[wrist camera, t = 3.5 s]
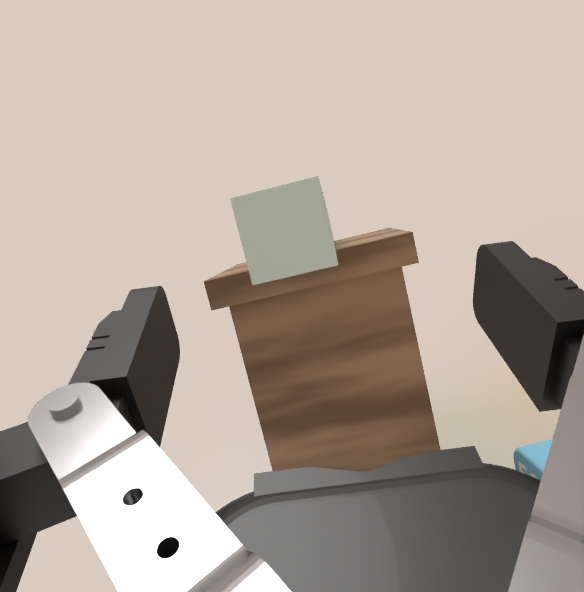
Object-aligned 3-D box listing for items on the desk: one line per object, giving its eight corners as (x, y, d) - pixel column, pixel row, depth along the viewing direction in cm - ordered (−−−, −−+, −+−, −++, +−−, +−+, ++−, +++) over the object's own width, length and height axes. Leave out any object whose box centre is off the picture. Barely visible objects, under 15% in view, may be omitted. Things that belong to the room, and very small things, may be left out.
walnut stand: (501, 663, 36) (412, 232, 31) (314, 689, 37) (203, 281, 33) (458, 552, 47) (389, 227, 43) (317, 575, 49) (237, 264, 45)
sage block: (338, 265, 22) (317, 176, 21) (252, 285, 22) (230, 198, 22) (333, 239, 48) (324, 198, 47) (293, 248, 48) (283, 208, 47)
